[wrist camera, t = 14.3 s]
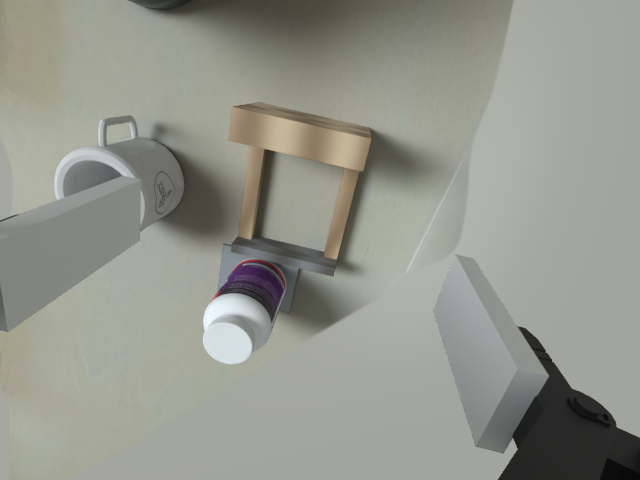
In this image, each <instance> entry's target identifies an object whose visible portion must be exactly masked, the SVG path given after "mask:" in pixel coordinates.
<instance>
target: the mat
mask: <svg viewBox="0 0 640 480" xmlns="http://www.w3.org/2000/svg"><path fill="white" fill-rule="evenodd" d="M231 246H232V245H227V244H223V248H222V257H221V265H220V274H219V283H218V291H219V289H220V288H221V287H222V285H223V284H224V282H225V281H226V279H227V278H228V276H229V275H230V273H231V272H232V270H233V269H234V268H235V266H236V265H237V264H238V263H240V262H241V261H243V260H245V259H248V258H254V257H250V256H246V255H241V254H237V253H233V252H231ZM273 263H275V262H273ZM275 264H276V265H277V266H278V267H279V268H280V269H281V270H282V272H283V274H284V276H285V279H286V292H285V295H284V298H283V301H282V303H281V306H280V309H279V310H280V311H284V312H288V313H289V312H290V308H291V303H292V298H293V294H294V289H295V284H296V279H297V275H298V270H299V268H296V267H292V266H287V265H283V264H279V263H275ZM218 291H217V292H218Z"/></svg>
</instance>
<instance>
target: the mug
mask: <svg viewBox="0 0 640 480" xmlns="http://www.w3.org/2000/svg"><path fill="white" fill-rule="evenodd" d="M127 122H129V124H130V128H131V137H129V138H124V139H120V140H117V141H114V142H110V143H107V141H106V131H107V126H108V125H114V124H121V123H127ZM98 139H99V145H96V146H88V147H83V148H79V149H77V150H74V151H72V152H71V153H69V154H67V155H66V156H65V157H64V158H63V159H62V161H61V162H60V164H59V166H58V168H57V171H56V174H55V179H54V188H55V194H56V198H57V200H60V199H62V198H65V197H68V196H70V195H73V194H76V193H78V192H81V191H84V190H86V189H89V188H92V187H94V186H97V185H100V184H102V183H105V182H108V181H110V180H113V179H115V178H118V177H121V176H126V177H131V178H135V179H139V180H141V206H140V232H141V231H142V230H143V229H144V228H146V227H148V226H149V225H151V224H152V223H154V222H155V221H157V220H159V219H160V218H162V217H164V216H165V215H167V214H168V213H170V212H171V211H172V210H173V209H174V208H175V207H176V206H177V205H178V204H179V202H180V200H181V198H182V195H183V191H184V178H183V173H182V170H181V168H180V166H179V163H178V162H177V160H176V159H175V157H174V156H173V155H172V153H171V152H170V151H169V150H168V149H166V148H165V147H164V146H163V145H161V144H160V143H158V142H156V141H154V140H151V139H148V138H144V137H138V131H137V125H136V121H135V119H134V118H133V117H132V116H130V115H129V116H121V117H114V118H107V119H104V120H101V121H100V124H99V130H98Z"/></svg>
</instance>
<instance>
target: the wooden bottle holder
mask: <svg viewBox="0 0 640 480" xmlns="http://www.w3.org/2000/svg"><path fill="white" fill-rule="evenodd" d="M371 139H372V138H371V132H370V128H368V127H363V126H359V125H355V124H350V123H346V122H342V121H337V120H333V119H329V118H324V117H320V116H316V115H312V114H307V113H303V112H299V111H294V110H290V109H286V108H281V107H277V106H273V105H268V104H264V103H260V102H258V103H252V104H245V105H239V106H233V107H232V112H231V121H230V130H229V139H228V140H229V141H233V142H238V143H242V144H246V145H250V149H249V156H248V164H247V171H246V179H245V186H244V194H243V201H242V209H241V216H240V224H239V231H238V237H237V238H236V239H235V240H234V242H233V243H232V246H231V252H233V253H237V254H241V255H246V256H250V257H254V258H258V259H262V260H266V261H271V262H275V263H279V264H283V265H287V266H292V267H296V268H300V269H304V270H308V271H313V272H317V273H321V274H325V275H329V276H334V272H335V268H336V261H337V257H338V253H339V249H340V245H341V241H342V237H343V233H344V229H345V226H346V222H347V218H348V214H349V210H350V206H351V202H352V198H353V194H354V190H355V186H356V182H357V178H358V175H359V171H362V172H363V170H364V166H365V163H366V159H367V155H368V151H369V147H370V143H371ZM267 149H268V150H272V151H276V152H281V153H285V154H289V155H293V156H298V157H302V158H306V159H310V160H315V161H319V162H323V163H328V164H332V165H336V166H340V167H345V169H344V173H343V177H342V181H341V186H340V190H339V194H338V198H337V202H336V207H335V211H334V215H333V219H332V223H331V228H330V232H329V236H328V240H327V244H326V249H325V252H322V251H317V250H313V249H309V248H305V247H300V246H296V245H292V244H288V243H284V242H279V241H275V240H271V239H267V238H263V237H258V236H254V231H255V225H256V218H257V211H258V205H259V198H260V192H261V185H262V178H263V172H264V165H265V159H266V152H267Z"/></svg>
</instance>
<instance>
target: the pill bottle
mask: <svg viewBox="0 0 640 480" xmlns="http://www.w3.org/2000/svg"><path fill="white" fill-rule="evenodd" d="M285 292H286V279H285V276H284V274H283V272H282V270H281V269H280V268H279V267H278V266H277V265H276V264H275V263H273V262H271V261H266V260H262V259H258V258H248V259H245V260H243V261H241V262H240V263H238V264H237V265H236V266H235V268H234V269H233V270H232V272H231V273H230V275H229V276H228V278H227V279H226V281H225V282H224V284H223V285H222V287H221V288H220V289H219V291H218V292H217V294H216V295H215V297H214V298H213V300H212V301H211V302H210V304H209V305H208V307H207V309H206V311H205V314H204V319H203V323H204V329H205V333H204V336H203V343H204V347H205V349H206V351H207V352H208V353H209V354H210V355H211V356H212V357H213V358H214V359H216V360H217V361H220V362H222V363H226V364H238V363H241V362H243V361H245V360H246V359H247V358H248V357H249V356H250V355H251V353H252V352H255V351H257V350H258V349H260V348H261V347H262V346H263V345H264V344H265V343H266V342H267V340H268V339H269V336H270V334H271V331H272V328H273V325H274V323H275V320H276V317H277V314H278V311H279V309H280V306H281V303H282V301H283V298H284V295H285Z"/></svg>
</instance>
